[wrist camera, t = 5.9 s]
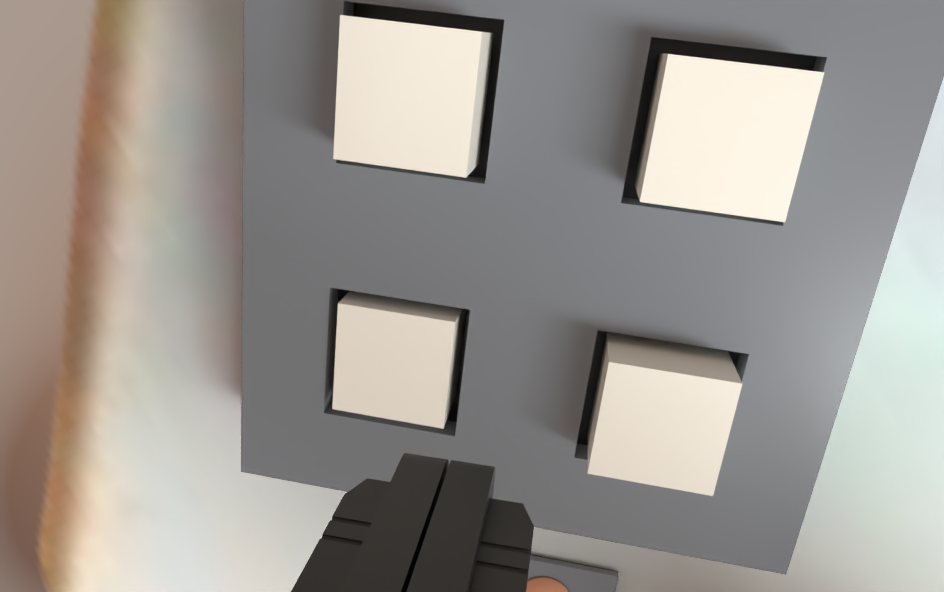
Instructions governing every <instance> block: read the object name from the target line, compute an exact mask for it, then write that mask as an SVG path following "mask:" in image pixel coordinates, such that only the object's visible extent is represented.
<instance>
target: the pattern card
mask: <svg viewBox="0 0 944 592" xmlns="http://www.w3.org/2000/svg"><path fill="white" fill-rule="evenodd" d="M617 580H618V572H616V571H611V570H605V569H600V568H595V567H590V566H585V565H580V564H574V563H569V562H564V561H559V560H554V559H548V558H543V557H538V556H533V555H530V563H529V571H528V580H527V588H526V592H615V589H616V584H617Z"/></svg>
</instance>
